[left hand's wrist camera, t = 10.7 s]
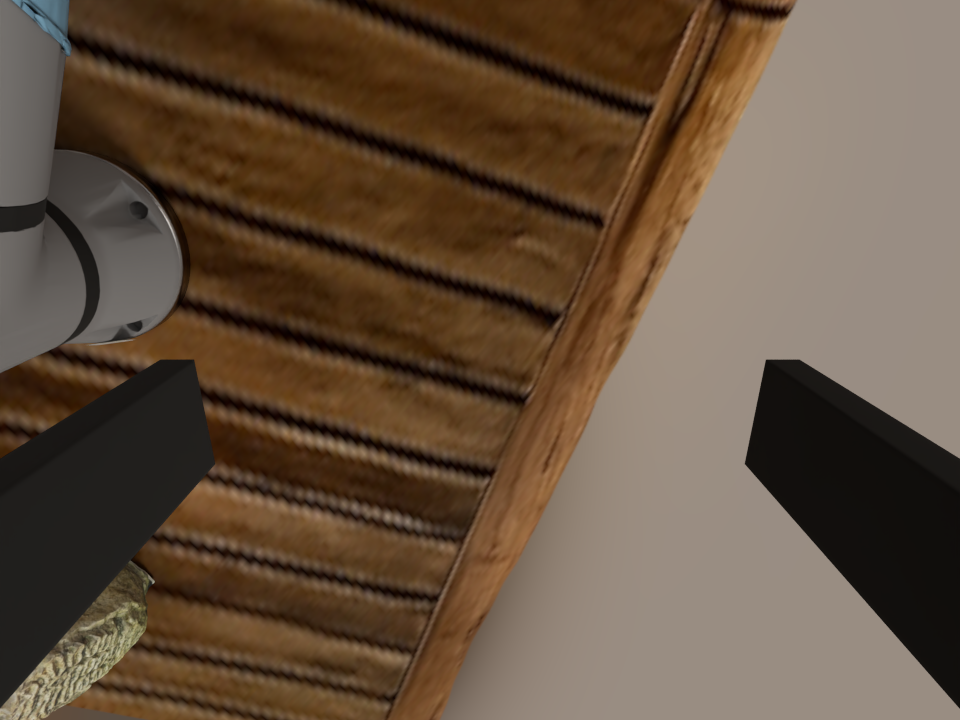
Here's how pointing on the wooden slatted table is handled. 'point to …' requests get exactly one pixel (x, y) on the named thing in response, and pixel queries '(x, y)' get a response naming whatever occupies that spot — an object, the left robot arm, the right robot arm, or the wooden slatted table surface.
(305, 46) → the wooden slatted table surface
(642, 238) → the wooden slatted table surface
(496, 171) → the wooden slatted table surface
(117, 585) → the fossil
